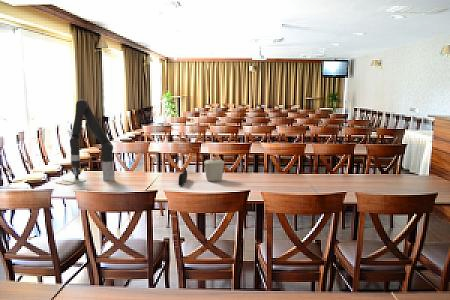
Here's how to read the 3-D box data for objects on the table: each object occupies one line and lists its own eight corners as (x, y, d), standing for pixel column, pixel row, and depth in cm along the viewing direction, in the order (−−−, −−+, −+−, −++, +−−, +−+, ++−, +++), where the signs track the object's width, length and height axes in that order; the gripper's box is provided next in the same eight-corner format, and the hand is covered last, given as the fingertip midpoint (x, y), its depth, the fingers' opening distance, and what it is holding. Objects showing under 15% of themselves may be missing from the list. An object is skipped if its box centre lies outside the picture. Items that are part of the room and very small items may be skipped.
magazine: (181, 176, 331) (186, 160, 358) (177, 176, 331) (182, 160, 358) (183, 195, 338) (187, 177, 365) (179, 194, 338) (183, 177, 366)
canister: (207, 178, 370) (207, 155, 367) (226, 179, 366) (226, 155, 363) (201, 182, 353) (201, 158, 350) (221, 183, 348) (221, 158, 345)
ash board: (75, 184, 342) (75, 182, 342) (67, 186, 336) (67, 184, 335) (63, 182, 351) (63, 180, 351) (55, 183, 344) (55, 181, 344)
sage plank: (86, 182, 351) (86, 180, 351) (76, 184, 343) (76, 182, 343) (74, 179, 360) (74, 178, 360) (65, 182, 352) (64, 180, 351)
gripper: (84, 159, 351) (85, 179, 354) (74, 158, 359) (75, 177, 361) (76, 161, 345) (78, 181, 348) (67, 159, 353) (68, 179, 355)
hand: (76, 179), depth 355 cm, fingers closed
